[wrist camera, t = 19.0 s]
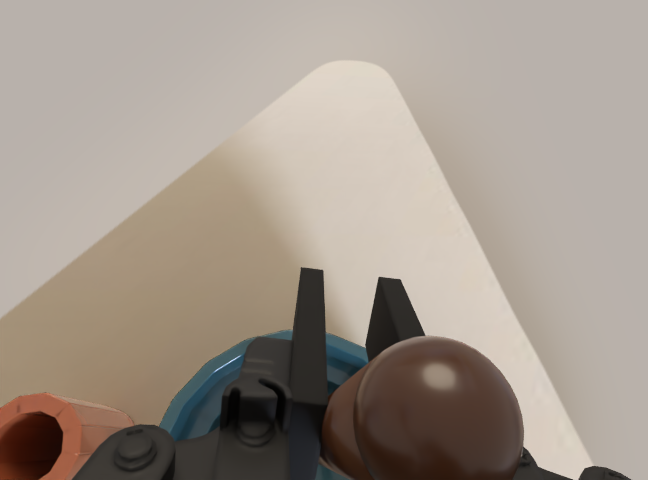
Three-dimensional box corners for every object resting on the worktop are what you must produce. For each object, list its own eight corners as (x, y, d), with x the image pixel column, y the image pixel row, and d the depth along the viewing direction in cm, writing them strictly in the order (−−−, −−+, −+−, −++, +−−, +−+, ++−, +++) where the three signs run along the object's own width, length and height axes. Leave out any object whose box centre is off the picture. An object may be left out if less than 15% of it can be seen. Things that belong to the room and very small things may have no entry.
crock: (44, 470, 26) (-59, 483, 18) (89, 396, 28) (14, 378, 20) (111, 500, 26) (36, 527, 18) (151, 424, 28) (101, 416, 20)
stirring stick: (285, 448, 22) (342, 481, 4) (300, 409, 23) (402, 290, 5) (321, 464, 22) (550, 571, 4) (334, 424, 23) (572, 359, 5)
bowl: (118, 560, 25) (69, 597, 19) (237, 319, 31) (228, 291, 25) (366, 675, 23) (396, 752, 18) (433, 401, 30) (471, 390, 24)
